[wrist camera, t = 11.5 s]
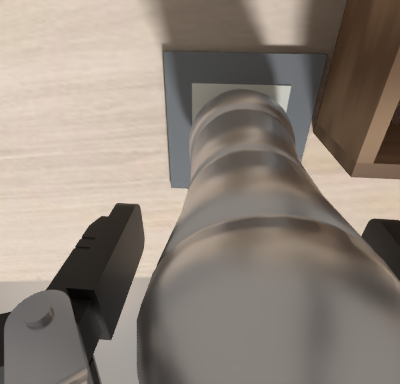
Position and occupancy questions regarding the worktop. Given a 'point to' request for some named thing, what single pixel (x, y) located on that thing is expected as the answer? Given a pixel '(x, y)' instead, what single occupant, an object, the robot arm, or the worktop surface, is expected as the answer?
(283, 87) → the mat
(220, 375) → the plastic bottle
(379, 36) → the crate
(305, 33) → the worktop surface
